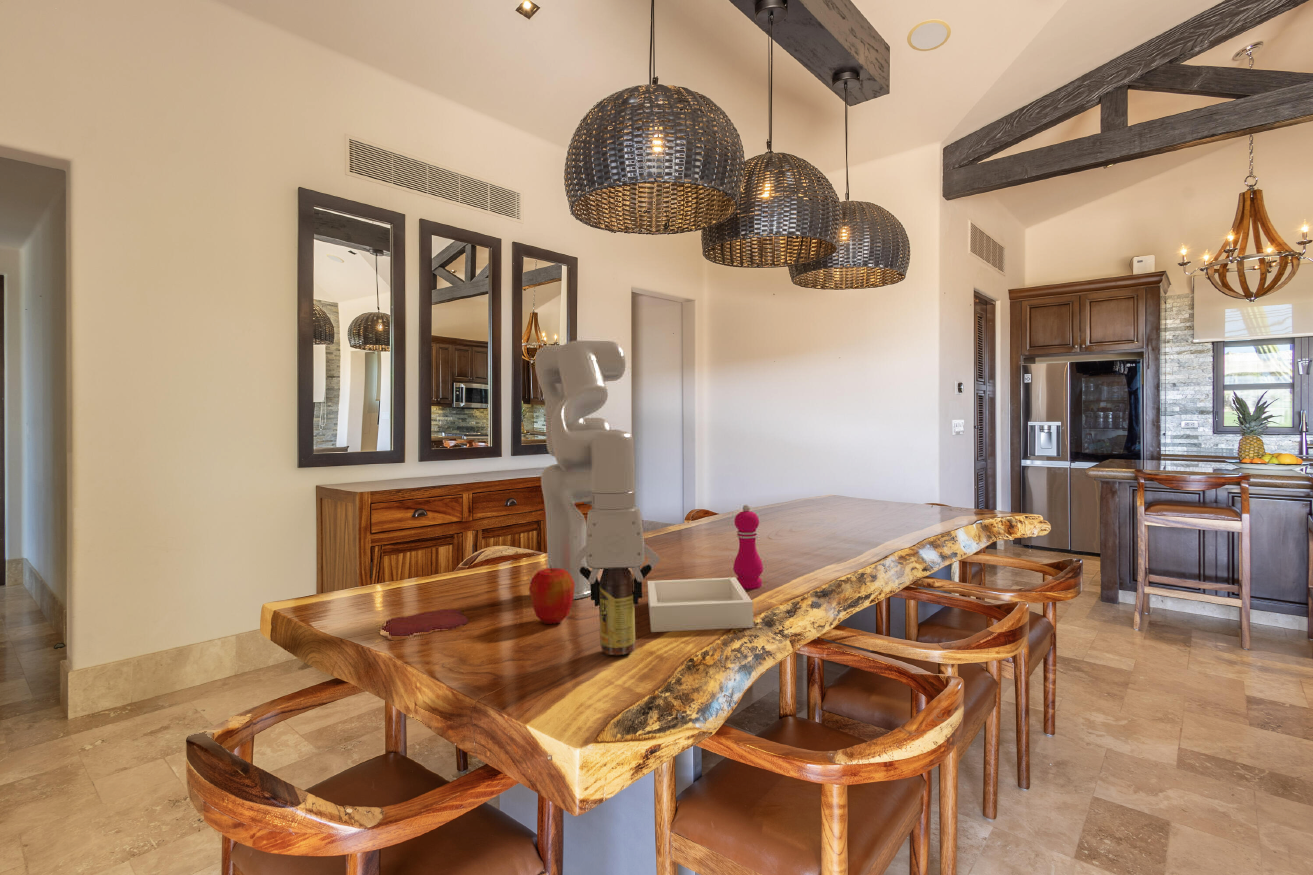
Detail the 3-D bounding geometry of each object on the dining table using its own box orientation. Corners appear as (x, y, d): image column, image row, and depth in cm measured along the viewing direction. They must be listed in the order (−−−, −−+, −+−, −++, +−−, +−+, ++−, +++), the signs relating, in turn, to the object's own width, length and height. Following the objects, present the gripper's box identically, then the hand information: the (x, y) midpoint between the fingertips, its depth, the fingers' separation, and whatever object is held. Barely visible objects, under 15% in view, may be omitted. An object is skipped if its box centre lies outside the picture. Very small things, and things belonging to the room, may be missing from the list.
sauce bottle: (600, 645, 113) (597, 536, 112) (634, 643, 113) (631, 534, 112) (600, 659, 106) (596, 543, 105) (636, 656, 107) (633, 541, 106)
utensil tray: (651, 632, 120) (650, 606, 120) (648, 603, 140) (647, 581, 140) (753, 627, 121) (752, 601, 121) (736, 599, 141) (735, 577, 141)
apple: (537, 632, 122) (535, 571, 122) (525, 620, 130) (523, 563, 130) (582, 624, 127) (580, 565, 126) (567, 613, 135) (565, 557, 134)
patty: (385, 646, 119) (385, 635, 119) (373, 627, 130) (373, 618, 130) (476, 627, 128) (475, 617, 128) (457, 611, 140) (457, 603, 140)
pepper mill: (762, 582, 156) (760, 502, 155) (764, 589, 148) (762, 506, 148) (733, 582, 156) (731, 503, 156) (734, 589, 149) (731, 507, 149)
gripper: (561, 506, 105) (565, 611, 105) (664, 502, 105) (667, 607, 106) (566, 500, 112) (569, 599, 113) (661, 497, 113) (664, 595, 113)
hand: (616, 602), depth 109 cm, fingers closed on sauce bottle, 6 cm apart
